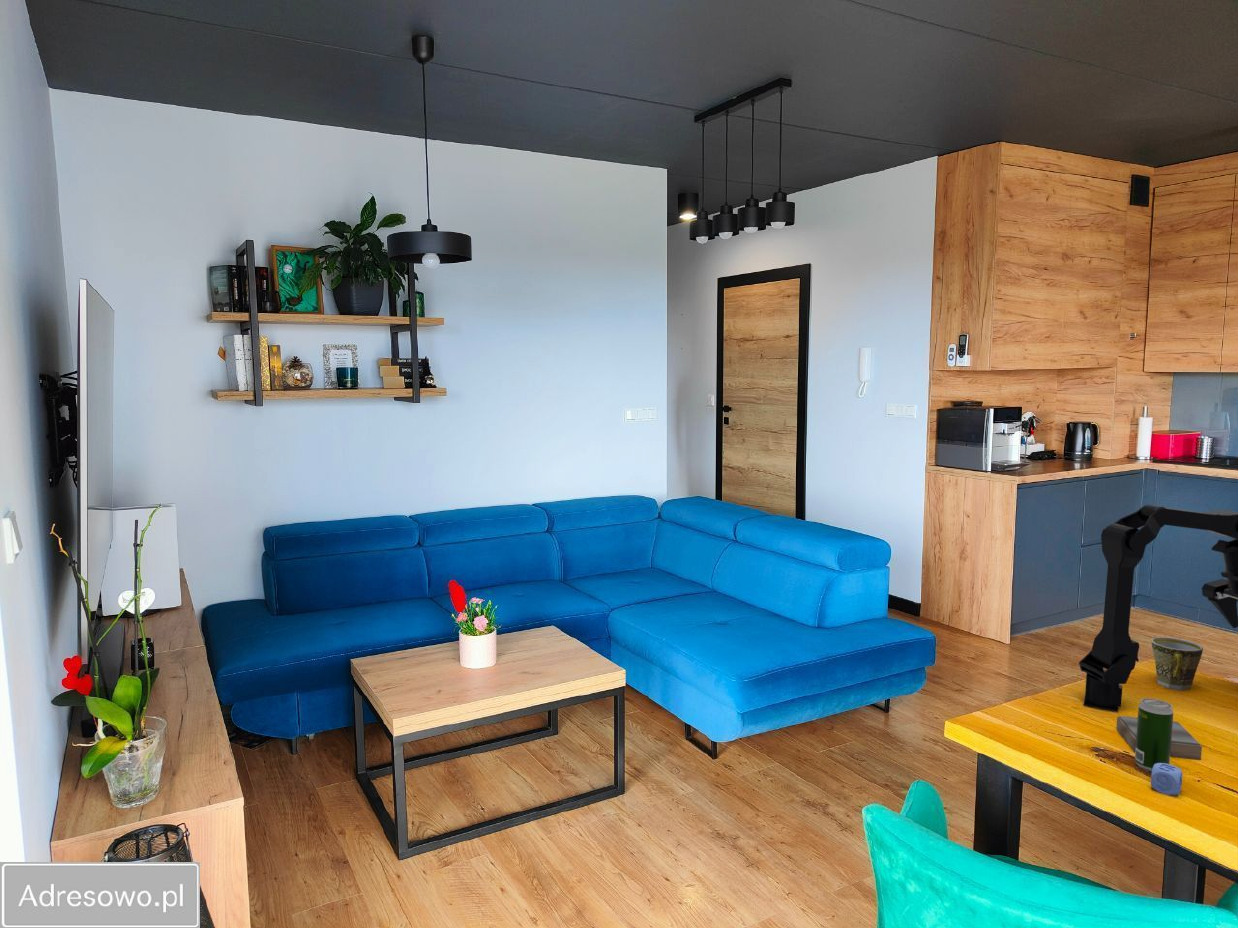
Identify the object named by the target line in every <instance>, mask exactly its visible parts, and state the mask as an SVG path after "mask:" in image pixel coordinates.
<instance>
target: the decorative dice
mask: <svg viewBox="0 0 1238 928" xmlns="http://www.w3.org/2000/svg"><path fill="white" fill-rule="evenodd" d="M1182 784H1183V771H1182V770H1181V768H1179V767H1177V766H1175V765H1173V764H1171V763H1170V764H1166V763H1156V764H1154V766H1153V769H1152V772H1151V775H1150V787H1152V788H1153V790H1154V791H1156V792H1158V793H1159V794H1163V795H1168V796H1178V795H1180V794H1181V792H1182V791H1181V790H1182V786H1183V785H1182Z"/></svg>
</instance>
